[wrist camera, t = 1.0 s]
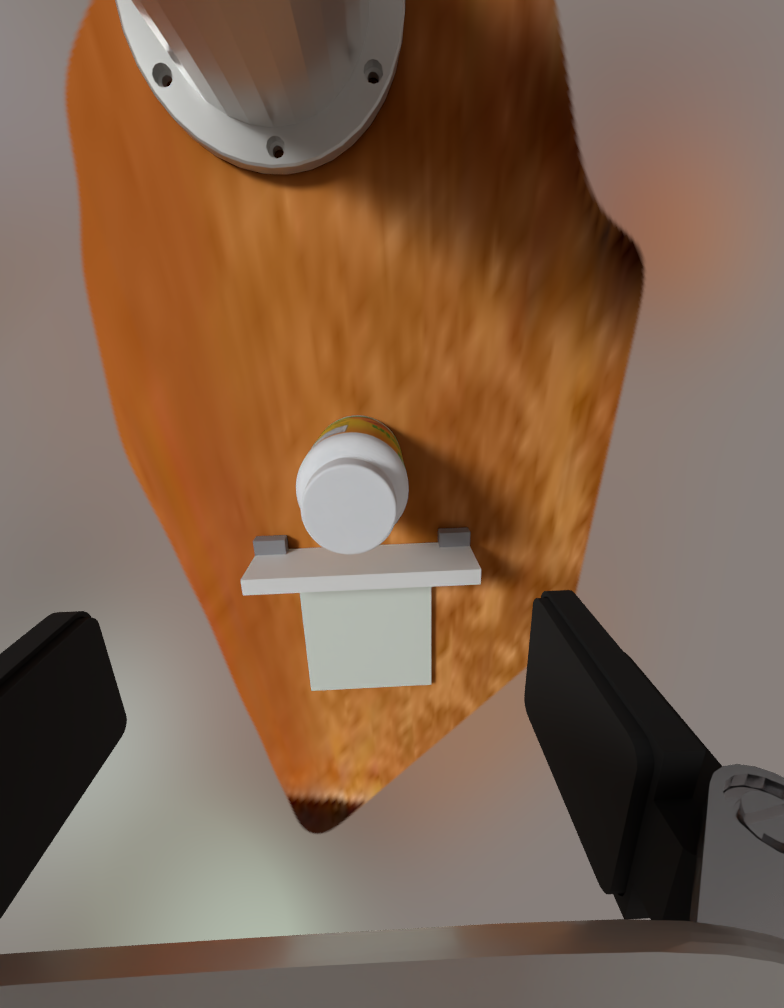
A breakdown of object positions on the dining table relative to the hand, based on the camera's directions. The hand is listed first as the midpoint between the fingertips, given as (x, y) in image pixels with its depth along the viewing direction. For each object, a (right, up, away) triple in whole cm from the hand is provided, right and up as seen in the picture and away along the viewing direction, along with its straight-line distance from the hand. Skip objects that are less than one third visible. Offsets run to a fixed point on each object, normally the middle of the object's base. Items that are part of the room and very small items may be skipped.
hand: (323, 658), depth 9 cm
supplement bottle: (-1, +6, +18) cm, 19 cm away
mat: (0, -6, +22) cm, 22 cm away
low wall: (0, 0, +19) cm, 20 cm away
